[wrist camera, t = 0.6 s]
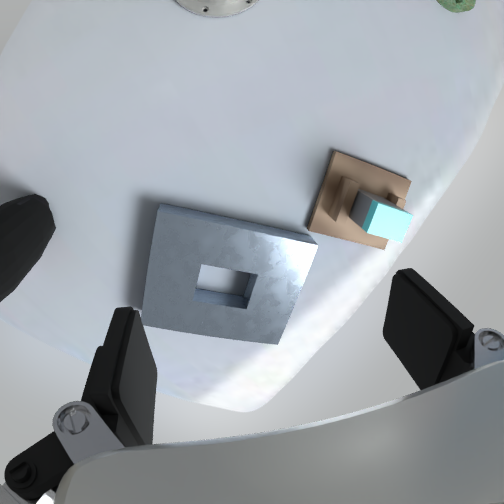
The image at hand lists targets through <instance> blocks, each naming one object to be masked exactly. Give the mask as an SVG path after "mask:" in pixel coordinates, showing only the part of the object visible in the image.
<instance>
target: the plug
mask: <svg viewBox="0 0 504 504" xmlns="http://www.w3.org/2000/svg"><path fill="white" fill-rule="evenodd" d="M348 217H349V218H350V219H351V220H352V221H354V222H355V223H356V224H357V225H358V226H360V227H361V228H362V229H363V230H364V231H365V232H367V233H369V234H373V235H376V236H380V237H383V238H387V239H390V240H394V241H397V242H401V243H402V241H403V238H404V236H405V234H406V231H407V229H408V227H409V224H410V222H411V219H412V217H413V215H411V214H410V213H408V212H407V211H405V210H403V209H402V208H400V207H399V206H397V205H395V204H394V203H392V202H390V201H389V200H387V199H385V198H384V197H381V196H378V195H375V194H372V193H369V192H367V191H364V190H361V189H358V192H357V194H356V197H355V200H354V202H353V205H352V208H351V210H350V213H349V216H348Z"/></svg>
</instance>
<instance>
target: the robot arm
mask: <svg viewBox="0 0 504 504" xmlns="http://www.w3.org/2000/svg"><path fill="white" fill-rule="evenodd" d="M176 1H177V2H178V3H179V4H180V5H181V6H182V7H183V8H185V9H186V10H188V11H190V12H192V13H195V14H197V15H201V16H205V17H214V18H218V17H228V16H233V15H236V14H239V13H242V12H244V11H246V10H247V9H249V8H251V7H252V6H253V5H254V4H256V3H257V2H258V0H176ZM246 1H249V2H250V3H249V4H248V3H246ZM204 10H207V12H204ZM473 328H474V325H473V324H472V323H471V322H470V321H469V320H468V319H467V318H466V317H465V316H464V315H463V314H462V313H461V312H460V311H459V310H458V309H457V308H455V307H454V306H453V305H452V304H451V303H450V302H449V301H448V300H447V299H446V298H445V297H444V296H443V295H441V294H440V293H439V292H438V291H437V290H436V289H435V288H434V287H433V286H431V285H430V284H429V283H428V282H427V281H426V280H425V279H424V278H423V277H421V276H420V275H419V274H418V273H417V272H416V271H415V270H413V269H412V268H408V269H402V270H398V271H397V272H396V274H395V275H394V276H393V279H392V284H391V290H390V296H389V301H388V307H387V312H386V317H385V322H384V327H383V336H384V339H385V340H386V342H387V343H388V344H389V346H390V347H391V349H392V350H393V351H394V353H395V354H396V355H397V357H398V358H399V360H400V361H401V363H402V364H403V365H404V367H405V368H406V370H407V371H408V373H409V374H410V375H411V377H412V378H413V380H414V381H415V383H416V384H417V385H418V387H419V388H420V391H418V392H415V393H412V394H410V395H406V396H403V397H401V398H398V399H395V400H392V401H388V402H385V403H382V404H379V405H376V406H373V407H369V408H366V409H362V410H359V411H355V412H352V413H348V414H344V415H341V416H337V417H333V418H329V419H325V420H321V421H316V422H312V423H308V424H303V425H298V426H293V427H289V428H283V429H278V430H272V431H267V432H261V433H254V434H248V435H241V436H233V437H225V438H217V439H208V440H200V441H189V442H177V443H163V444H154V445H153V444H152V440H153V423H154V409H155V394H156V384H157V368H156V364H155V361H154V358H153V356H152V352H151V349H150V346H149V343H148V340H147V337H146V334H145V331H144V327H143V324H142V321H141V317H140V314H139V311H138V310H133V308H132V307H121V308H116V309H115V311H114V314H113V317H112V320H111V323H110V326H109V329H108V332H107V335H106V338H105V341H104V344H103V346H99V347H98V348H97V350H96V353H95V356H94V359H93V362H92V365H91V368H90V372H89V375H88V378H87V382H86V385H85V388H84V392H83V396H82V399H81V401H74V402H69V403H67V404H65V405H64V406H62V407H61V408H59V409H58V411H57V412H56V413H55V415H54V418H53V428H54V432H52V433H51V434H49V435H48V436H46V437H45V438H43V439H42V440H40V441H39V442H37V443H36V444H34V445H33V446H31V447H29V448H28V449H27V450H25V451H23V452H22V453H20V454H19V455H17V456H16V457H15V458H13V459H12V460H11V461H10V462H9V463H8V465H7V466H6V469H5V481H6V482H5V483H4V484H3V486H2V485H1V484H0V504H504V335H503V334H501V333H500V332H498V331H497V330H494V329H491V328H483V329H480V330H478V331H477V332H476V333H475V334H474V333H473V332H472V331H473Z"/></svg>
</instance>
